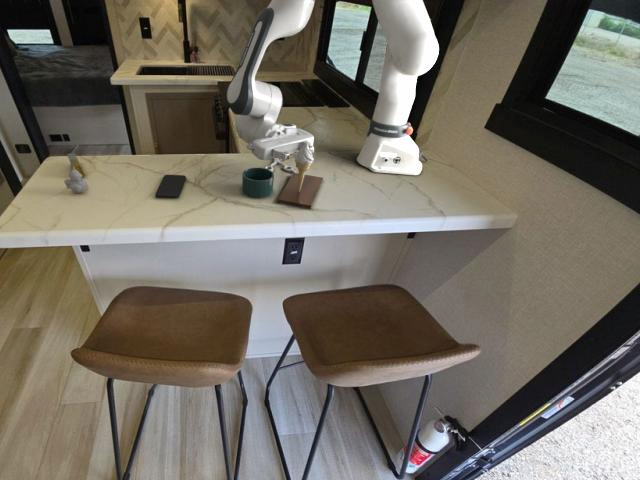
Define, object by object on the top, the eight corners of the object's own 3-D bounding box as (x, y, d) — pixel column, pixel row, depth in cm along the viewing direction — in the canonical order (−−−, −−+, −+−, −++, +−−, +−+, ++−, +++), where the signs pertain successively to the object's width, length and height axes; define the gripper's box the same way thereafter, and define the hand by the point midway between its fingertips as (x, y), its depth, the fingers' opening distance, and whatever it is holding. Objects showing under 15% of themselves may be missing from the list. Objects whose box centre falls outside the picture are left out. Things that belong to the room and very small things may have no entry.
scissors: (265, 171, 115) (260, 149, 129) (265, 174, 115) (260, 151, 129) (296, 171, 115) (288, 149, 129) (296, 174, 116) (288, 151, 130)
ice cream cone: (286, 189, 105) (292, 138, 94) (302, 186, 107) (310, 136, 96) (295, 197, 101) (303, 145, 91) (311, 194, 103) (320, 143, 92)
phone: (186, 175, 112) (178, 196, 101) (186, 177, 112) (179, 199, 101) (164, 174, 112) (154, 195, 101) (164, 176, 112) (154, 198, 101)
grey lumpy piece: (87, 196, 102) (78, 170, 96) (65, 196, 102) (55, 170, 96) (92, 187, 106) (84, 162, 100) (70, 187, 106) (61, 162, 100)
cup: (275, 187, 108) (277, 170, 105) (267, 200, 102) (268, 183, 98) (247, 182, 111) (248, 165, 107) (237, 195, 104) (238, 177, 100)
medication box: (71, 165, 118) (66, 153, 115) (79, 163, 118) (74, 151, 116) (76, 178, 110) (71, 166, 107) (85, 175, 111) (80, 164, 108)
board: (322, 180, 112) (323, 177, 112) (310, 209, 99) (311, 205, 98) (293, 176, 115) (293, 172, 114) (277, 203, 101) (278, 199, 100)
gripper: (243, 134, 99) (272, 149, 91) (297, 123, 108) (327, 136, 99) (243, 155, 104) (270, 172, 96) (294, 143, 112) (323, 157, 104)
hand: (300, 153), depth 98 cm, fingers open, 8 cm apart
